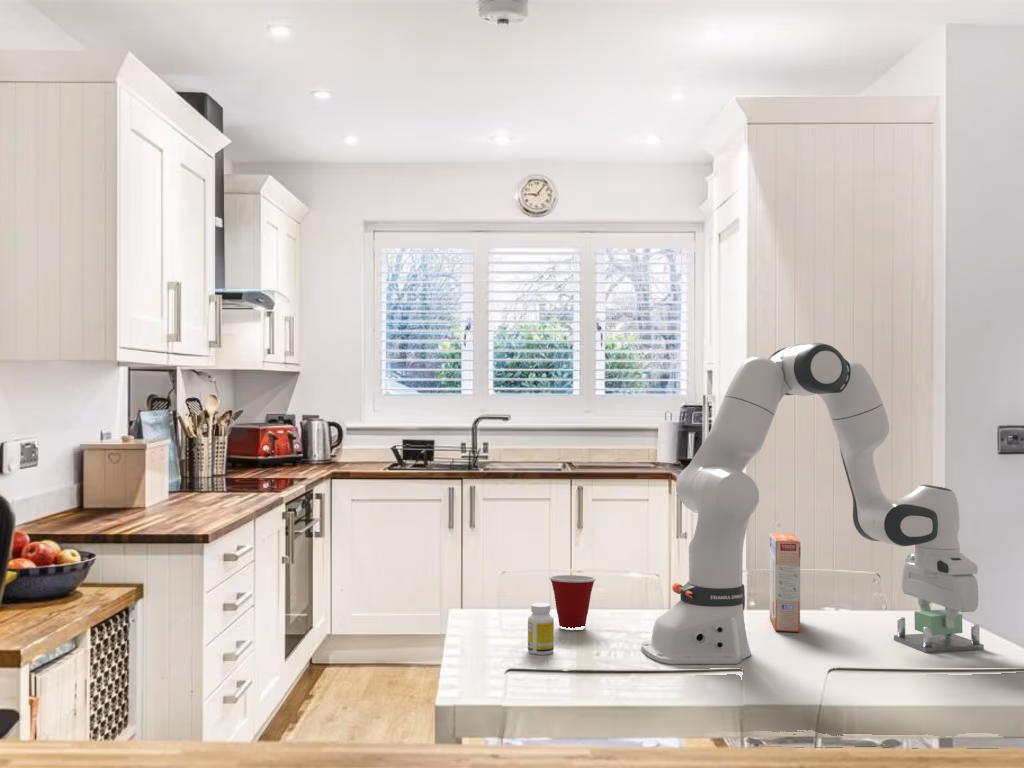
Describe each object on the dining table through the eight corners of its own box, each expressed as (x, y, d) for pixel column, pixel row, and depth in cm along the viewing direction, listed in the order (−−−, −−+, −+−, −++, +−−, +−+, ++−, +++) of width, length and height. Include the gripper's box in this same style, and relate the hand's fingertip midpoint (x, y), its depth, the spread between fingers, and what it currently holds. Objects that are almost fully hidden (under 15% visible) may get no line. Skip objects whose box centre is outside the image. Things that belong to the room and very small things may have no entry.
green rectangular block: (931, 635, 187) (930, 616, 187) (914, 629, 192) (914, 611, 192) (962, 633, 189) (962, 614, 189) (945, 627, 194) (945, 609, 194)
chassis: (925, 652, 183) (925, 628, 184) (893, 639, 194) (893, 617, 194) (983, 649, 186) (983, 625, 186) (949, 636, 197) (948, 614, 197)
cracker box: (801, 633, 199) (801, 541, 200) (774, 632, 200) (773, 540, 201) (794, 619, 213) (794, 532, 213) (769, 617, 214) (768, 531, 215)
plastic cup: (597, 623, 208) (597, 572, 208) (594, 634, 197) (594, 581, 197) (551, 621, 209) (551, 570, 210) (546, 632, 198) (546, 579, 199)
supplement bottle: (558, 650, 184) (558, 603, 184) (545, 657, 179) (545, 608, 179) (536, 647, 187) (536, 600, 187) (522, 652, 182) (522, 605, 182)
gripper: (894, 552, 200) (894, 613, 200) (957, 568, 180) (958, 636, 180) (918, 551, 201) (919, 612, 201) (983, 567, 181) (984, 634, 181)
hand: (938, 623), depth 190 cm, fingers closed on green rectangular block, 5 cm apart
